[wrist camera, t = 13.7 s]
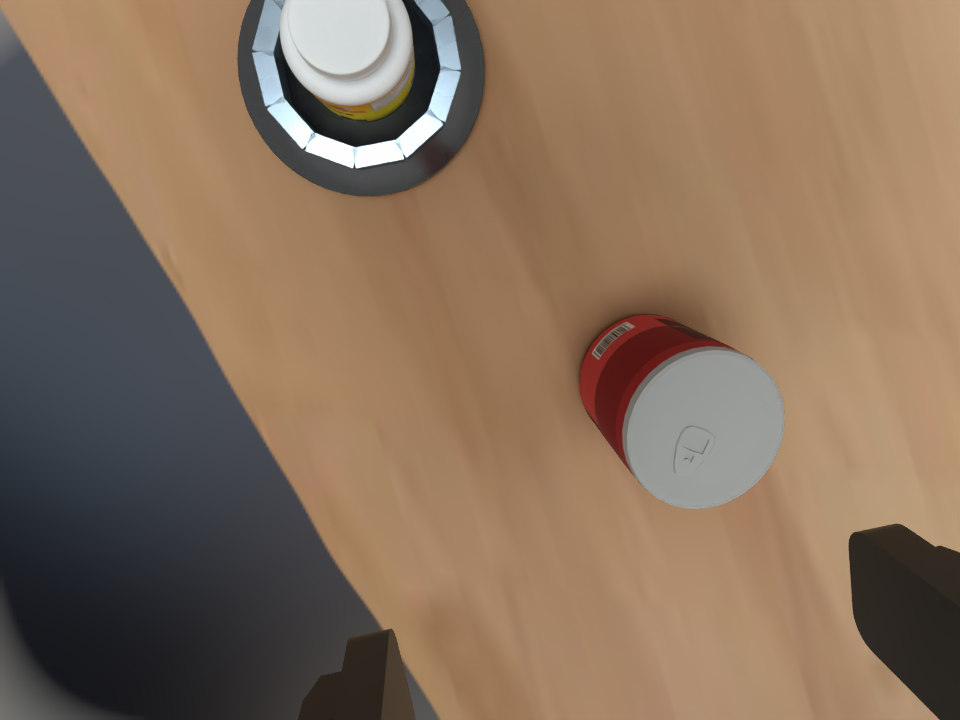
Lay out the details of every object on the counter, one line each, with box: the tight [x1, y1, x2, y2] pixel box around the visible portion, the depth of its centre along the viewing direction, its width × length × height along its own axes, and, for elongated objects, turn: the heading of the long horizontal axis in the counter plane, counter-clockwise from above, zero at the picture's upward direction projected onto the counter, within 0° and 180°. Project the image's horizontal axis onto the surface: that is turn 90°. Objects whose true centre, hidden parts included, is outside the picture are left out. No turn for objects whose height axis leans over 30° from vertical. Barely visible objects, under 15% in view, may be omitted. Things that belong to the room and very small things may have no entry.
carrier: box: [238, 0, 484, 196], centre depth 36 cm, size 13×13×4 cm
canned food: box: [580, 314, 785, 509], centre depth 37 cm, size 8×8×11 cm
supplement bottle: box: [280, 0, 415, 123], centre depth 31 cm, size 6×6×10 cm
